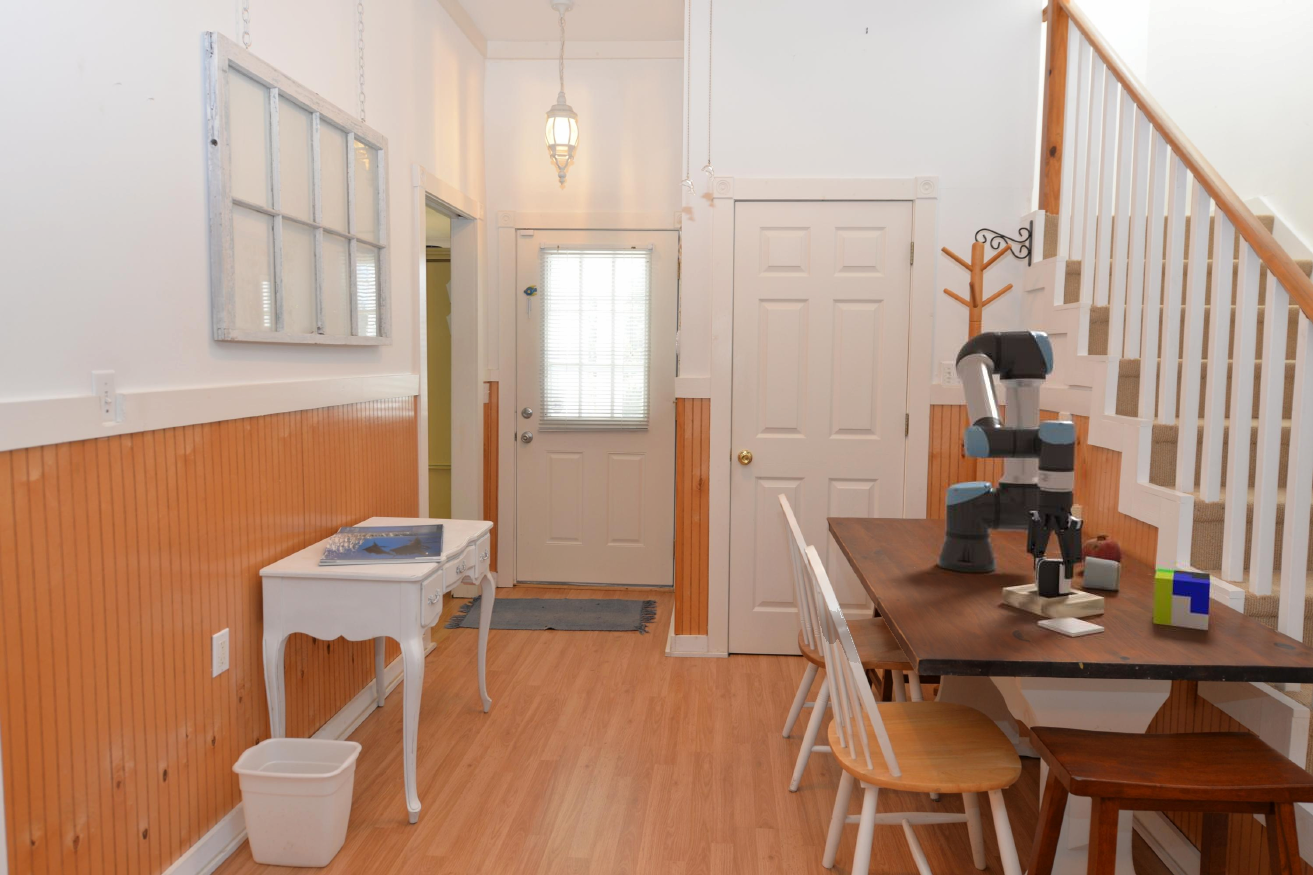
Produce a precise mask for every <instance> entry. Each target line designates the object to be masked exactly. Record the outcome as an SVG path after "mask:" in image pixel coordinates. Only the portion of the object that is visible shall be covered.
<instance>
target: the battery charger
mask: <svg viewBox="0 0 1313 875" xmlns="http://www.w3.org/2000/svg"><path fill="white" fill-rule="evenodd" d="M1061 563H1063V560H1062V558H1055V557H1054V558H1053V557H1052V558H1051V557H1050V558H1048V557H1045V558H1043V559H1040V560H1039V561H1038V562H1037V565H1036V571H1035V573H1036V580H1037V595H1038V596H1041V597H1045V598H1048V599H1049V598H1056V597H1062V596H1069V593H1059V581H1060V564H1061Z"/></svg>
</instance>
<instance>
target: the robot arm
mask: <svg viewBox="0 0 1313 875" xmlns="http://www.w3.org/2000/svg"><path fill="white" fill-rule="evenodd" d="M1053 370H1054V352H1053V347H1052V343H1051V340H1050V338H1049V336H1048V335H1047V333H1045V332H1043V331H1035V330H1034V331H1032V330H1023V331H1017V330H1016V331H984V332H982V333H978V334H976V335H974V336H973V337H972V338H970V339H969V340H967V341H966V342H965V343H964V344H963V345H962V347H961V348H960V350H959V351H958V353H957V356H956V359H955V372H956V376H957V377H958V379H959V380H960V381H961V382H962V383H961V384H962V390H963V393H964V398H965V404H966V409H967V415H968V421H969V426H967V427H966V428H965V429H964V431H963V432H964V433H963V434H964V435H963V449H964V450H963V451H964V453H965V455H966V456H967V457H970V458H980V459H1004V475H1003V476H1002V477H1001V478H1000V479H999V480H998V487H993V486H992V484H991V482H988V481H967V482H960V483H955V484H953V485H950V486H949V487H948V488H947V490H946V494H945V502H944V504H945V525H944V526H945V527H944V528H945V531H944V533H945V534H944V535H945V537H944V540H943V543H942V547H941V550H940V553H939V555H938V558H937V562H938V563H937V566H938V567H940V568H942V569H945V570H949V571H954V572H960V573H961V572H962V573H988V572H992V571H995V570H996V569H997V559H996V557H995V555H994V551H993V546H992V543H991V535H990V534H991V531H1014V532H1015V531H1019V532H1025V533H1027V539H1026V541H1027V542H1026V553H1027V554H1030V555H1032V557H1033V571H1034V573H1035V575H1034V576H1035V578H1034V579H1035V581H1034V584H1035V586H1037V580H1036V565H1037V562H1038V561H1039V560H1040V559H1043V558H1046V556H1047V554H1046V552H1047V547H1048V544H1049V542H1050V541H1049V540H1050V537H1051V535H1052V532H1053V531H1054V535H1056V537H1057V541H1058V546H1059V551H1060V554H1061V555H1060V556H1061V559H1062V560H1063V563H1061V564H1060V581H1059V593H1069V592H1071V589H1072V580H1073V579H1074V572H1075V571H1074V570H1075V569H1074V567H1075V565H1076V564H1082V563H1083V559H1082V548H1083V545H1082V544H1083V543H1082V542H1083V540H1082V536H1083V535H1082V530H1083V529H1082V528H1083V526H1084V520H1083V518H1079V519H1078V518H1075V517H1074V515H1073V514H1072V508H1073V506H1074V499H1075V498H1074V496H1075V495H1074V493H1075V492H1074V491H1073V490H1072V489H1074V488H1075V454H1076V453H1075V452H1076V440H1077V435H1076V425H1075V423H1074V422H1073V421H1070V420H1069V421H1068V420H1043V421H1041V422H1040V388H1041V386H1042V385H1043V384H1044V383H1045V382H1046V381H1047V378H1046V377H1047V376H1048V375H1051V373H1052V372H1053ZM993 375H994V376H995V375H999V382H1000V384H1002V386H1004V388H1005V394H1004V395H1005V397H1004V399H1005V408H1004V409H1005V410H1004V412H1005V415H1004V418H1005V419H1004V421H1003V417H1002V414H1001V409H1000V405H999V400H998V395H997V392H996V387H995V383H994V377H993Z"/></svg>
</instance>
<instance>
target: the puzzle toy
mask: <svg viewBox="0 0 1313 875" xmlns="http://www.w3.org/2000/svg"><path fill="white" fill-rule="evenodd" d="M1153 589H1154V590H1153V591H1154V592H1153V594H1154V596H1153V598H1154V599H1153V614H1152V616H1153V618H1152V619H1153V620H1152V623H1153V624H1158V625H1166V626H1174V627H1180V628H1182V627H1183V628H1189V629H1197V630H1202V631H1203V630H1205V631H1208V630H1209V617H1210V616H1209V612H1210V592H1211V591H1210V590H1211V574H1210V573H1206V572H1199V571H1198V572H1195V571H1186V570H1176V569H1169V568H1167V569H1166V568H1156V572H1155V576H1154V588H1153Z"/></svg>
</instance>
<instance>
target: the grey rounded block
mask: <svg viewBox="0 0 1313 875" xmlns="http://www.w3.org/2000/svg"><path fill="white" fill-rule="evenodd" d="M1121 570H1122V564H1121V563H1118V562H1115V561H1111V560H1104V559H1098V558H1092V557H1086V559H1085V563H1084V568H1083V577H1082V578H1083V580H1082V587H1083V588H1086V589H1097V590H1105V591H1118V590H1119V589H1120V582H1121Z"/></svg>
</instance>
